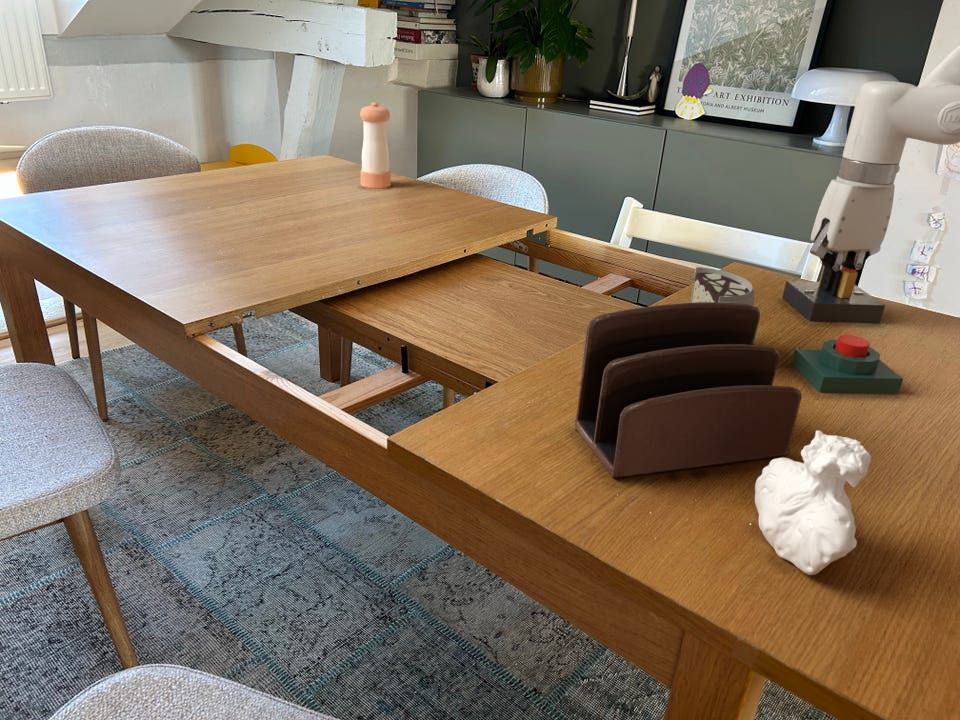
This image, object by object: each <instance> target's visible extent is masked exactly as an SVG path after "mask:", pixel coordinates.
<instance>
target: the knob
mask: <svg viewBox="0 0 960 720" xmlns="http://www.w3.org/2000/svg"><path fill="white" fill-rule="evenodd" d="M822 266H823V265H822ZM823 270H824V266H823V267H822V270H821V273H820V274H821V275H820V278H819V280H818V282H819V285H820V281H821V278H822V274H823ZM840 271H842V276H841V280H840V283H839V287H838V291H837V294H836V296H838V297H840V298H851V295H852V292H853V288H854V285H856V281H857V277H858V274H859V273H858V272H857V271H858V270H853V269H848V268H846V267H843V266H841V268H840ZM819 285H818V287H819Z"/></svg>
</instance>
